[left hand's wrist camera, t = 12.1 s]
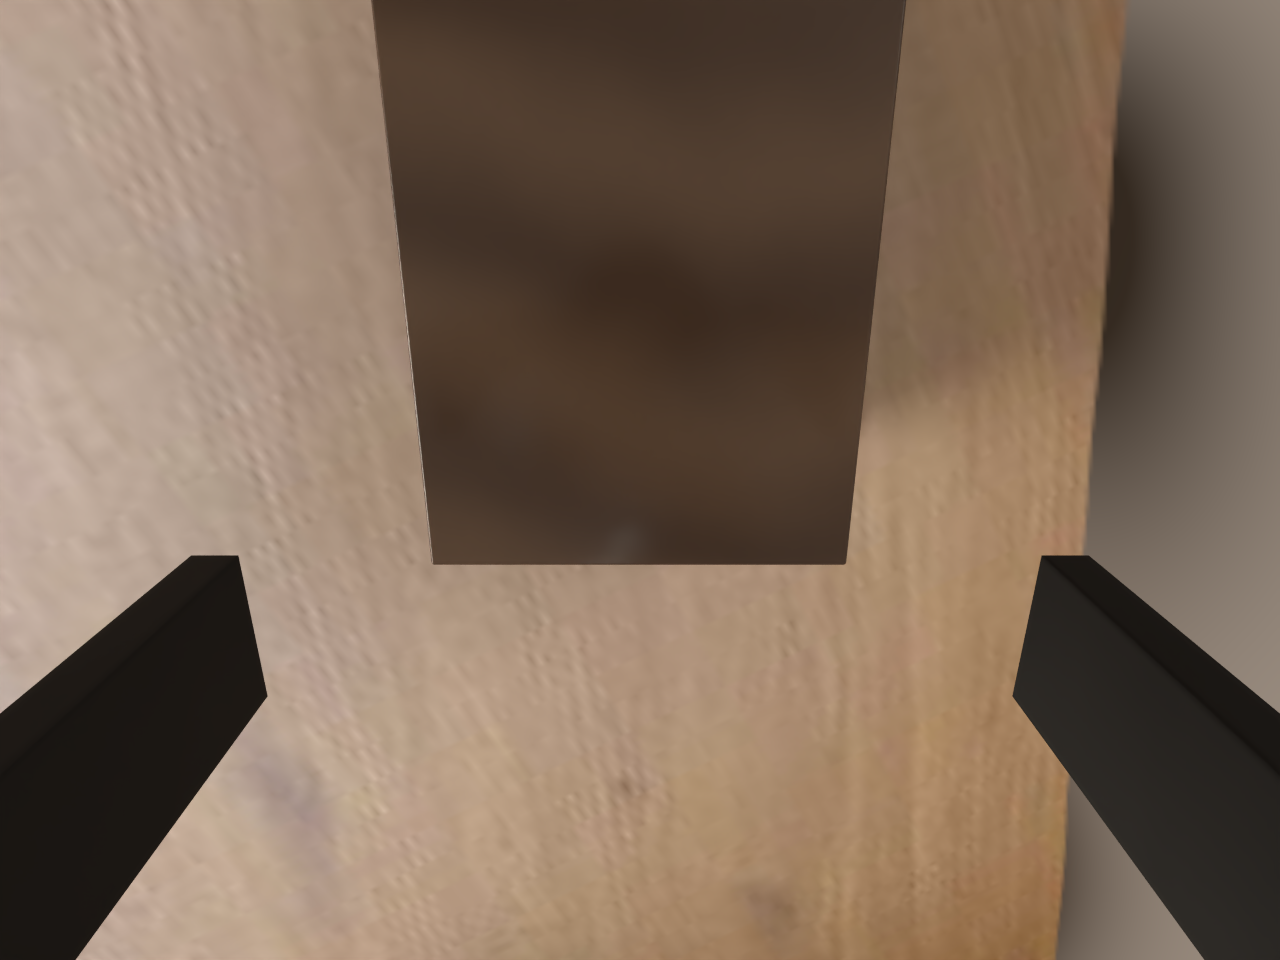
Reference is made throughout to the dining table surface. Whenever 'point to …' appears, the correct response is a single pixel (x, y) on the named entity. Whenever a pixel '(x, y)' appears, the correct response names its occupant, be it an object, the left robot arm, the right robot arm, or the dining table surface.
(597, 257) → the cabinet
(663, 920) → the dining table surface
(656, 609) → the dining table surface
